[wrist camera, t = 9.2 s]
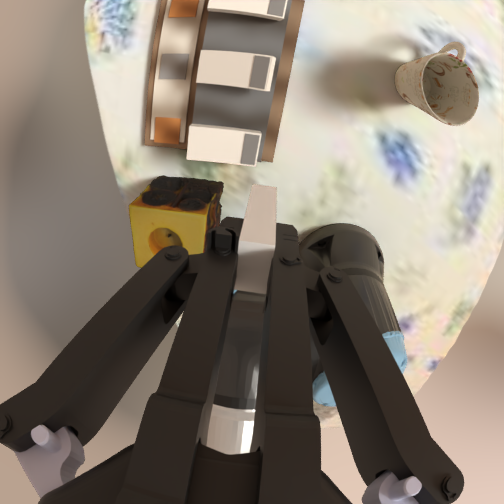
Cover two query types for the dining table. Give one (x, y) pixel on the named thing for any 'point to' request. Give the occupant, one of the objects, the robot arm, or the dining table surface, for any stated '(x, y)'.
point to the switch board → (213, 95)
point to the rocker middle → (236, 69)
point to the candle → (174, 215)
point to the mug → (440, 85)
